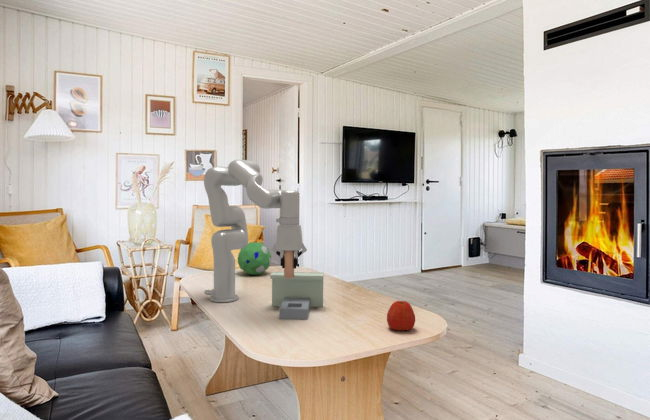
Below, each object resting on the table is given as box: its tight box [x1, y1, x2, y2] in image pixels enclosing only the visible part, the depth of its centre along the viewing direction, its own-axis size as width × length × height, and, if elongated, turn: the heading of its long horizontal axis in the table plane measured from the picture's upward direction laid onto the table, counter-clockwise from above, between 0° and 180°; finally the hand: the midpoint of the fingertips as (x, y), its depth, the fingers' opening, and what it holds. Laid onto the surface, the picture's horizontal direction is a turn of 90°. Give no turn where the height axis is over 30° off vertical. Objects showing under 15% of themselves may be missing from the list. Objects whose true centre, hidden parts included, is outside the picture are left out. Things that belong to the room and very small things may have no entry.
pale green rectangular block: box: [269, 271, 324, 308], centre depth 186 cm, size 22×7×14 cm, turn 89°
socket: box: [278, 297, 311, 320], centre depth 178 cm, size 11×18×4 cm, turn 179°
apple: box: [386, 300, 416, 332], centre depth 159 cm, size 10×10×10 cm
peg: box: [283, 251, 295, 278], centre depth 173 cm, size 4×4×12 cm
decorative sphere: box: [237, 241, 272, 276], centre depth 255 cm, size 19×20×20 cm
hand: (289, 267), depth 173 cm, fingers closed on peg, 4 cm apart
